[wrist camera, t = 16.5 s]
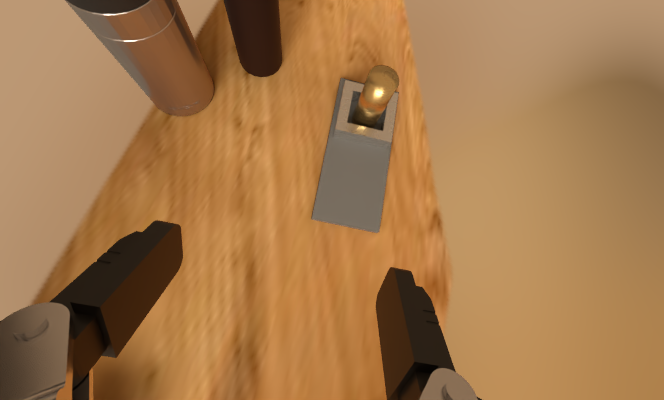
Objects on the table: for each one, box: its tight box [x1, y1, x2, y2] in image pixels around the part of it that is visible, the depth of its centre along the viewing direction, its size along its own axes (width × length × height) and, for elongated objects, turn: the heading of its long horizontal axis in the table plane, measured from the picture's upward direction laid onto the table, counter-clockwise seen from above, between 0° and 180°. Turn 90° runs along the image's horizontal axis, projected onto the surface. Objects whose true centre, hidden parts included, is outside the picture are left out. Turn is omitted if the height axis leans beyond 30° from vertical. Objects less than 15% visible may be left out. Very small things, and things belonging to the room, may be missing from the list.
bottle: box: [224, 0, 282, 77], centre depth 35 cm, size 7×7×20 cm
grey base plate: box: [312, 78, 399, 233], centre depth 43 cm, size 24×10×1 cm, turn 169°
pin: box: [352, 65, 399, 129], centre depth 39 cm, size 4×4×10 cm
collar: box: [333, 80, 398, 149], centre depth 43 cm, size 9×9×2 cm
